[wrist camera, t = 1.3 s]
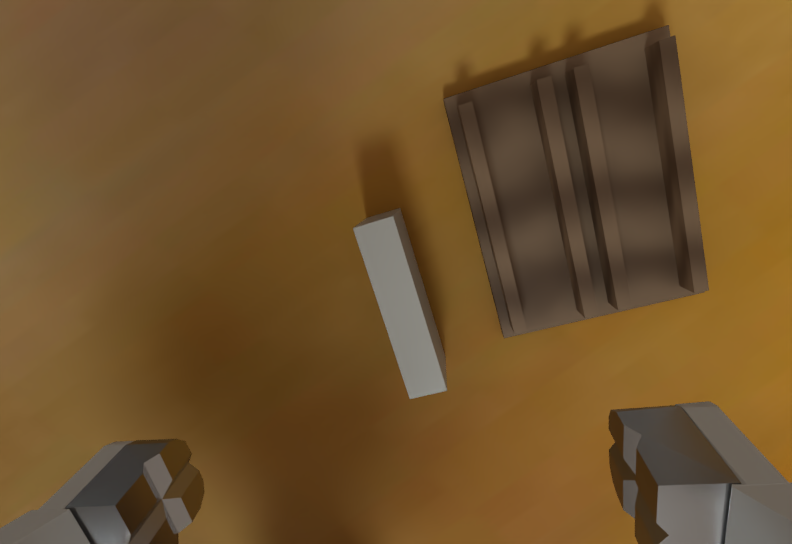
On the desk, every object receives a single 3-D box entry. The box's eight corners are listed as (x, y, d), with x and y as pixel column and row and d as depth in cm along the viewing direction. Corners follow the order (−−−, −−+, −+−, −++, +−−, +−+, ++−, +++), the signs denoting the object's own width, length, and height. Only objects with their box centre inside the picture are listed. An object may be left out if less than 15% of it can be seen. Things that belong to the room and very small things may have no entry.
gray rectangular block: (445, 355, 38) (447, 390, 32) (413, 363, 38) (409, 399, 32) (400, 207, 35) (392, 216, 29) (366, 217, 35) (352, 228, 29)
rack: (696, 288, 34) (721, 300, 31) (502, 333, 36) (508, 347, 34) (661, 29, 30) (685, 14, 27) (443, 100, 32) (444, 94, 29)
